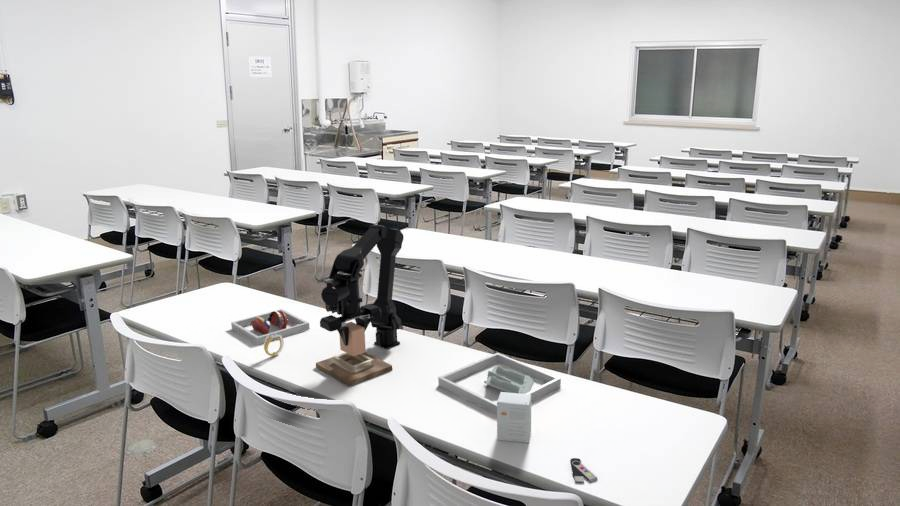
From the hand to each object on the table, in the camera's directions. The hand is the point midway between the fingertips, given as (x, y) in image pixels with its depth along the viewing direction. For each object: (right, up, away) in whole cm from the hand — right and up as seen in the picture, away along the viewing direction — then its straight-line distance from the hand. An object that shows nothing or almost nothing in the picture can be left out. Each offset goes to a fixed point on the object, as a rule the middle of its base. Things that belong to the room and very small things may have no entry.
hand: (352, 343), depth 197 cm
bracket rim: (+44, -11, -10) cm, 47 cm away
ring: (-27, -6, +12) cm, 30 cm away
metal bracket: (+47, -12, -11) cm, 50 cm away
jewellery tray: (-35, 0, +34) cm, 49 cm away
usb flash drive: (+60, -23, -51) cm, 82 cm away
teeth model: (-35, 0, +35) cm, 49 cm away
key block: (0, -2, +1) cm, 2 cm away
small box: (+46, -18, -36) cm, 61 cm away
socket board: (0, -8, +2) cm, 9 cm away
